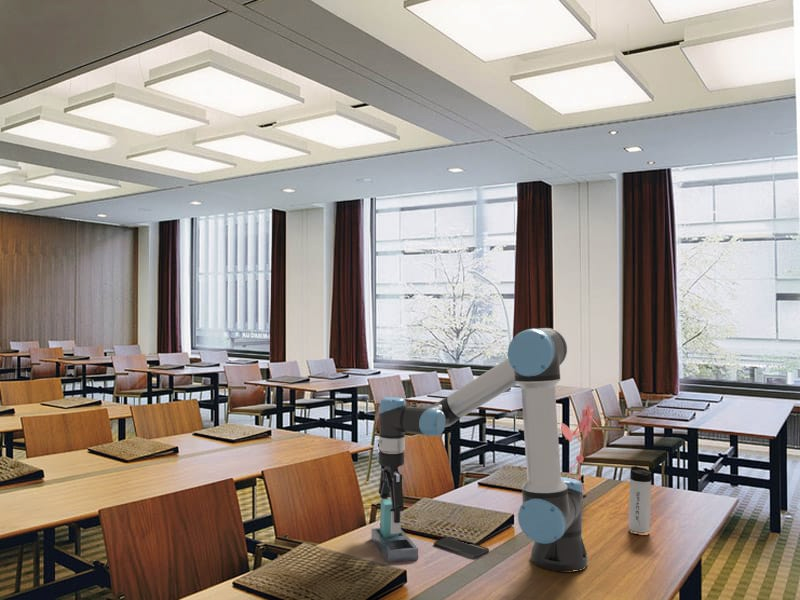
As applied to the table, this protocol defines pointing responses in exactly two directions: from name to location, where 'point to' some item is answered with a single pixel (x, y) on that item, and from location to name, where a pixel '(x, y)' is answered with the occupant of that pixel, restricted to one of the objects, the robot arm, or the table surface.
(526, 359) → the robot arm
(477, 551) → the phone
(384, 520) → the square peg
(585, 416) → the pink flower branch
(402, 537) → the grey hollow block
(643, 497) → the travel mug
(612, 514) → the table surface
